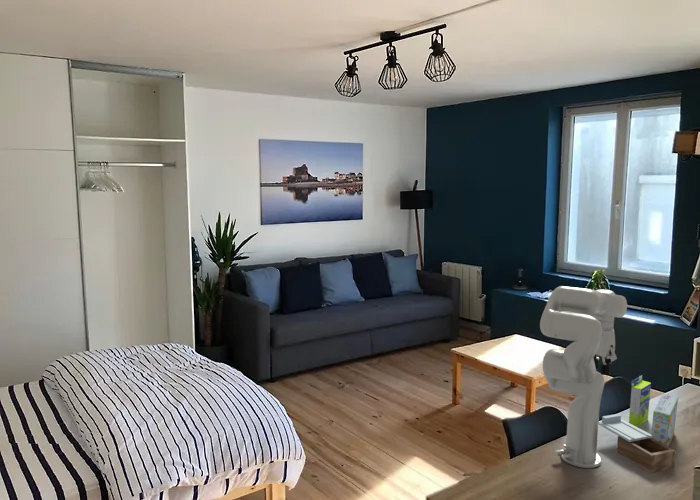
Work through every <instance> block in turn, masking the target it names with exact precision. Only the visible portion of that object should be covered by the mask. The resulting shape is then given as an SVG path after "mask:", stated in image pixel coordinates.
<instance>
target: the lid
mask: <svg viewBox="0 0 700 500" xmlns="http://www.w3.org/2000/svg"><path fill="white" fill-rule="evenodd" d="M598 426H600V427H602V428H604V429H606V430H608V431H610V432H611V433H613V434H615V435H617V437H618V436H620V437H621V438H623V439H625V440H627V441H629V442H632V441H637V440H643V439H648V438H652V436H653V435H651V433H649V432H647V431H645V430H643V429H641V428H639V427H636V426H634V425H632V424H630V423H629V421H626V420H624V419H623V418H622V415H621V414H619V413H615V414H610V415H609V414H608V415H603V416H601V421H599V422H598Z"/></svg>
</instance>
